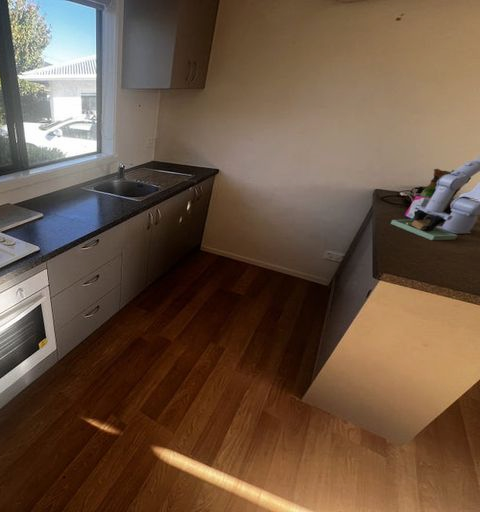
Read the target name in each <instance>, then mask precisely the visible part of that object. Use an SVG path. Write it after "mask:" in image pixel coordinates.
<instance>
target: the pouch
mask: <svg viewBox="0 0 480 512" xmlns="http://www.w3.org/2000/svg"><path fill="white" fill-rule="evenodd" d="M454 171H455V170H454V169H452V170H451V171H448V170H442V169H439V168H435V169H433V178H432V179H431V180H430V183H429V184H428V185H427V186H425V187H424V189H423V190H421V191H422V192H420V195H419V196H424V197H430V198H431V197H432V196H433V194H434V193H435V191H436V190H435V188H436V186H437V181H438V180H439V179H440V178H441V177H442V176H444V175H448V174H451V173H452V172H454ZM471 179H472V177H470V178H469V179H468V181H467V182H466V183H465V184H464V185H463V186H462V187H461V188H459V189H457V190H456V191H455V192H454V194H453V196H452V197H451V199H450V200H449V202H448V203H447V205H446V206H445V208H444V209H443V211H442V212H445V211H446V209H448V207H449V204H451V202H452V201H453V199H454V197H455V196H456V195H457V193H458V192H459V191H461V189H462V188H463V187H464V186H465V185H466V184H468V183H469V181H470V180H471ZM431 217H435V216H434V215H431V214H428V215H427V216H426V217H425V219H426V218H427V219H431Z"/></svg>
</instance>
